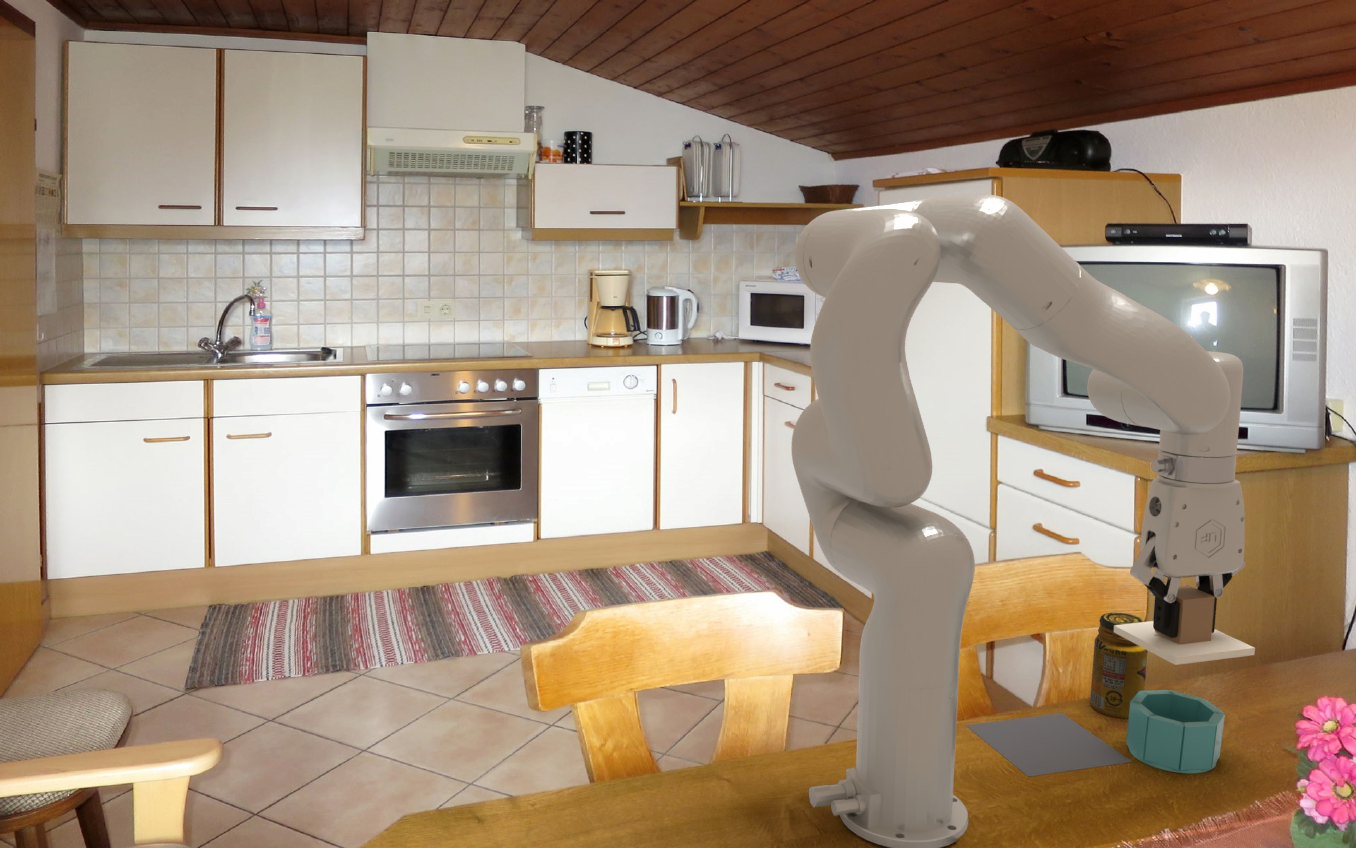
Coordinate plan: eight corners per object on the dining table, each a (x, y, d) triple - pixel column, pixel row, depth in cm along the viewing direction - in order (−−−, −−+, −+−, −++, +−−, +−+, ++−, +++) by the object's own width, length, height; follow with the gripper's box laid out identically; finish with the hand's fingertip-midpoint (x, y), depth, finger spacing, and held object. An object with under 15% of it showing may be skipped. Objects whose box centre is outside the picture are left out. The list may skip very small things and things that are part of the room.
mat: (1028, 781, 118) (1028, 776, 118) (965, 729, 131) (965, 725, 130) (1132, 766, 122) (1132, 761, 122) (1061, 717, 134) (1061, 713, 134)
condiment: (1158, 716, 135) (1165, 621, 133) (1115, 733, 130) (1122, 635, 128) (1105, 695, 141) (1112, 604, 139) (1062, 710, 136) (1069, 617, 134)
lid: (1175, 665, 115) (1179, 611, 114) (1113, 632, 125) (1116, 582, 124) (1254, 655, 118) (1259, 602, 117) (1188, 623, 128) (1192, 575, 127)
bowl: (1155, 780, 119) (1161, 728, 118) (1112, 740, 127) (1117, 691, 126) (1233, 776, 120) (1239, 724, 119) (1185, 737, 129) (1191, 689, 127)
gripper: (1153, 480, 112) (1140, 651, 115) (1288, 470, 117) (1272, 635, 120) (1106, 465, 119) (1095, 627, 123) (1234, 456, 124) (1221, 613, 127)
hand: (1183, 629), depth 121 cm, fingers closed on lid, 4 cm apart
